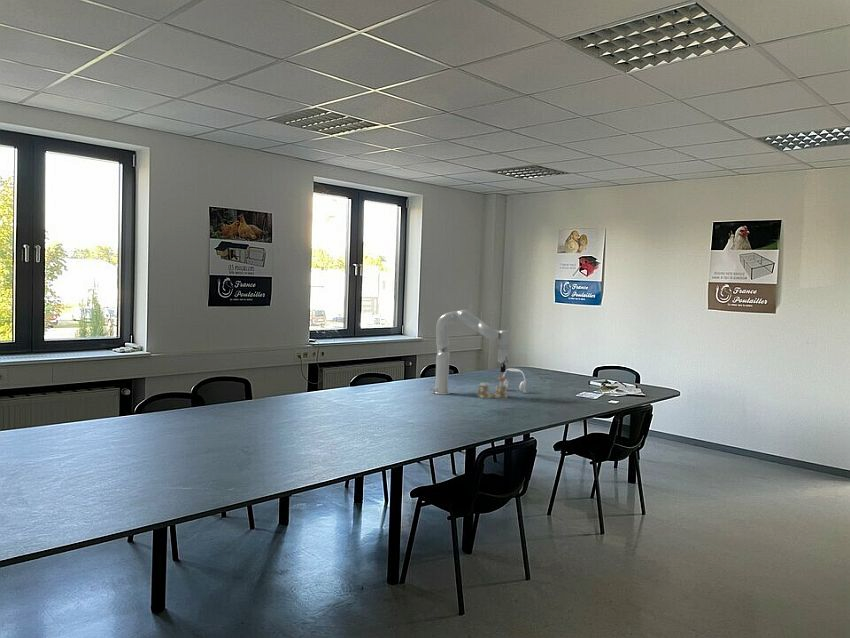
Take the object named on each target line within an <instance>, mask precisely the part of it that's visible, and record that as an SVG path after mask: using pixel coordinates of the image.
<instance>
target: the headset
mask: <svg viewBox="0 0 850 638" xmlns="http://www.w3.org/2000/svg"><path fill="white" fill-rule="evenodd" d="M507 372H515V373H521V374H522V377H523V381H521V382H520V384H519V386H518V387H519V388H518V389H519V391H520V392H522V393H524V394H526V393H527V391H526V387H527V380H526V379H527V378H526V375H525V373H524V372H523V370H520V369H518V368H506V369H505V372H503V374H502V377H505V376H506V373H507ZM504 386H506V387H507V388H508V387H509V381H508V379H506V380H505V381H504Z"/></svg>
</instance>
